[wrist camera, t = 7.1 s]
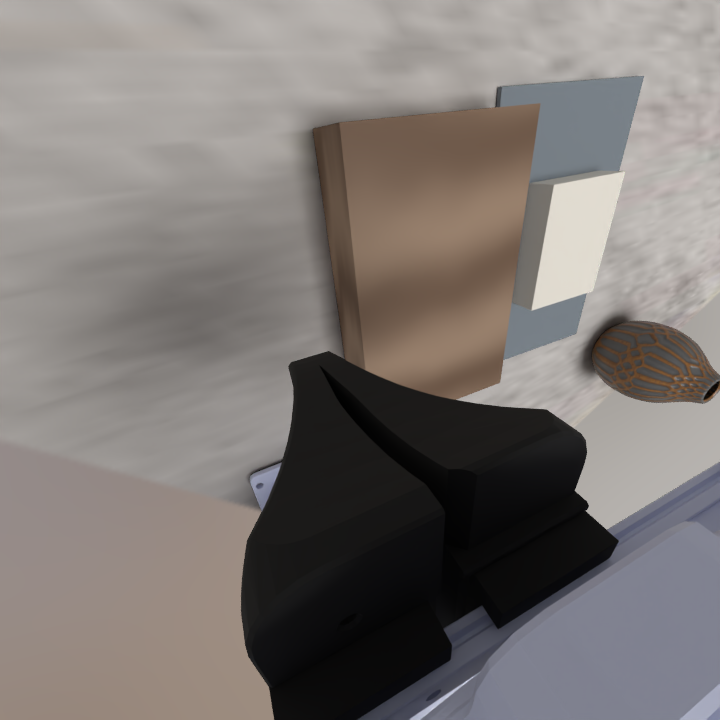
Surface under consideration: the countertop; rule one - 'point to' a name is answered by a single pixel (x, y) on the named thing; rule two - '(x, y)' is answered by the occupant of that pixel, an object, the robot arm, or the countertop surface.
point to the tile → (564, 236)
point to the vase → (654, 364)
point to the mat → (568, 172)
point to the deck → (427, 240)
